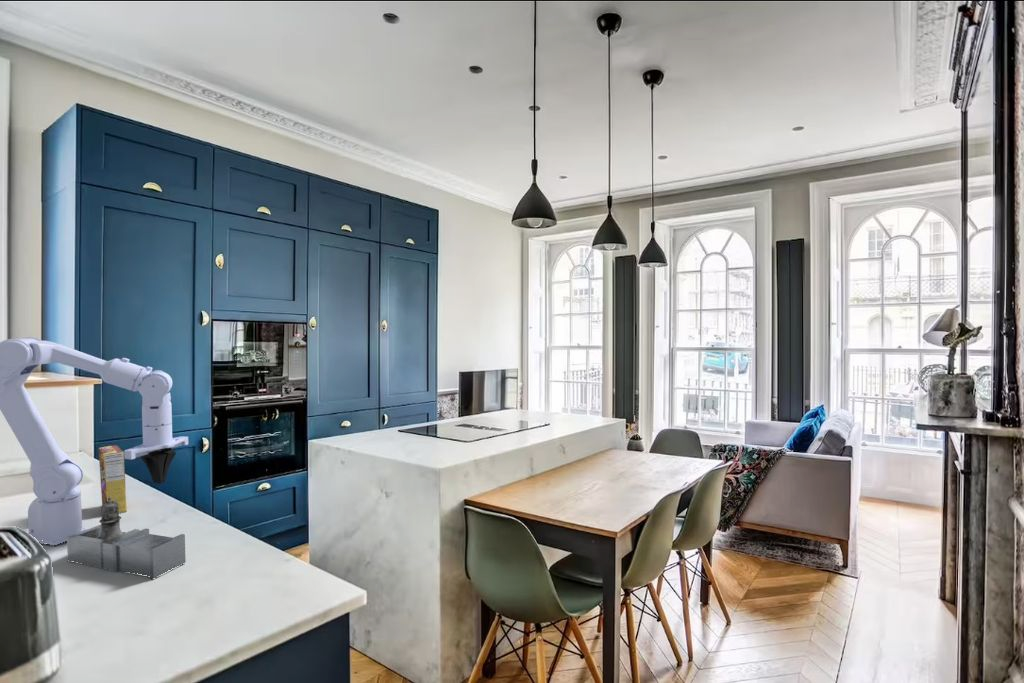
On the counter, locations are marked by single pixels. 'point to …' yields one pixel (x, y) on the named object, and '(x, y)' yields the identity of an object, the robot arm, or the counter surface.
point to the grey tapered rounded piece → (110, 520)
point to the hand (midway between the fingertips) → (159, 482)
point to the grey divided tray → (127, 551)
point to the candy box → (113, 476)
